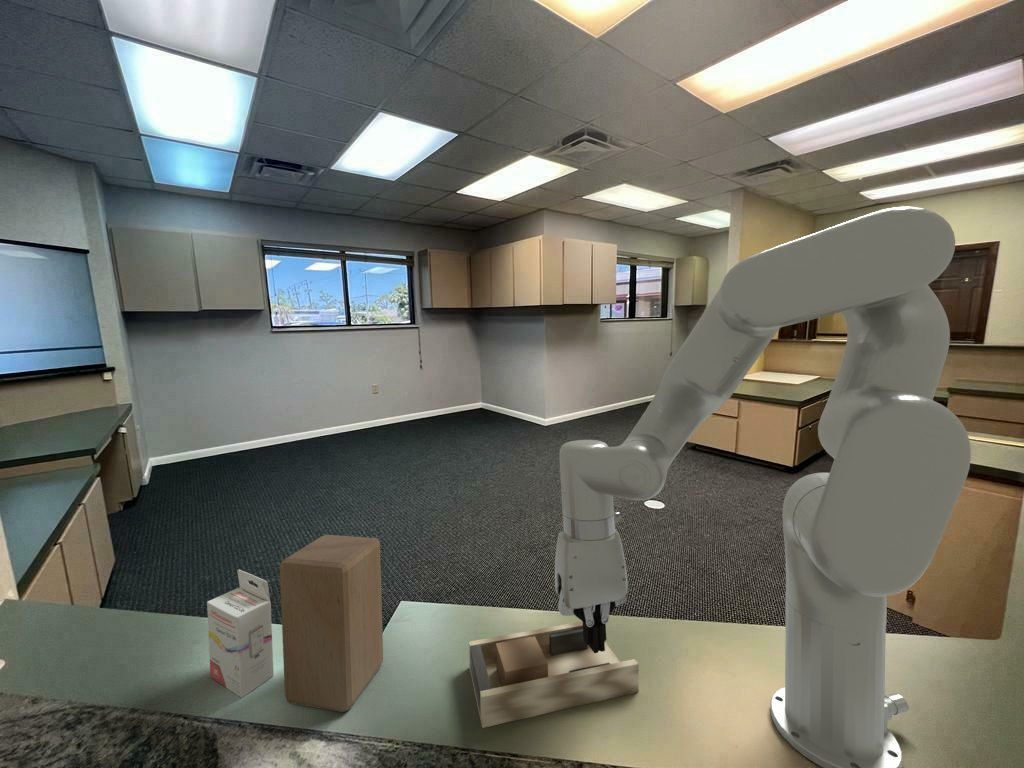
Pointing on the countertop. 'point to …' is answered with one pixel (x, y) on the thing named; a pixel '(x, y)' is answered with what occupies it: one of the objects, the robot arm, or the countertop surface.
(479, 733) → the countertop surface
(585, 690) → the chute
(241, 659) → the ink cartridge box
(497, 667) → the block
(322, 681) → the block
